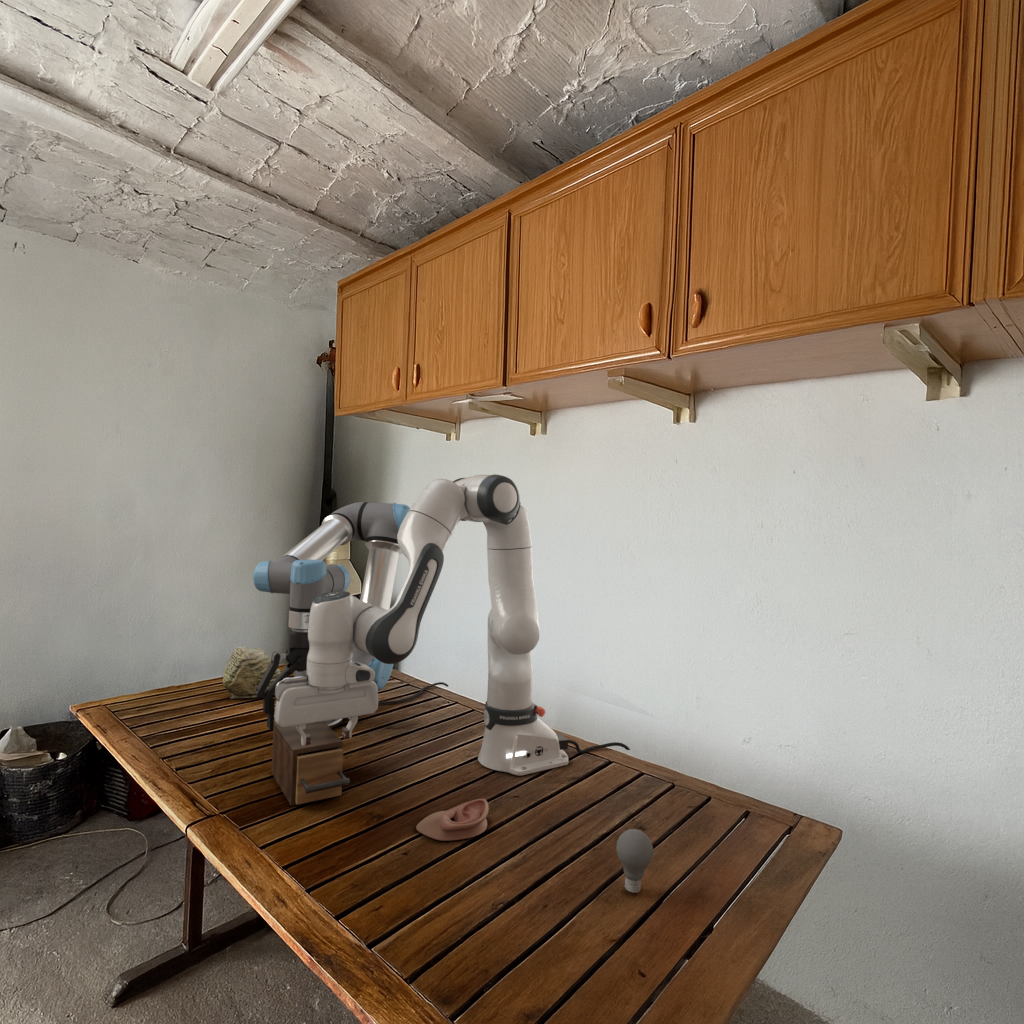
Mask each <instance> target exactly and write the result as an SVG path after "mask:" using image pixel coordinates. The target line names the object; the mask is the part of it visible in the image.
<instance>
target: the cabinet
mask: <svg viewBox="0 0 1024 1024" xmlns="http://www.w3.org/2000/svg"><path fill="white" fill-rule="evenodd" d="M303 731H304V733H305V734H309V735H310V736H311V740H310V742H311V744H310V745H306V746H302V744H301V735H300V733H299V731H298V730H297V728H296V726H289V727H280V726H279V725H278V724H277V723H276V722H274V728H273V729H272V753H271V775H272V776H273V778H274V779H275V782H276V783H277V785H278V787H279V788H280V789H281V792H282V793H283V795H284V797H285V798H286V800H287V802H288V803H289V805H290V807H294V806H297V804H296V776H297V756H298V754H302V753H308V752H313V751H319V750H324V749H330V748H334V750H336V749H341V748H342V750H343V751H344V749H343V746H344V740H342V739H341V738H340V736H338V734H336V732H335V731H334V730H333V729H331V728H330V727H329V726H328V725H327V724H326V723H325V722H324V721H322V722H315V723H309V724H306V729H303Z"/></svg>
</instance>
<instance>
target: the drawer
mask: <svg viewBox="0 0 1024 1024" xmlns="http://www.w3.org/2000/svg"><path fill="white" fill-rule="evenodd" d="M343 767H344V749H343V750H342V748H341V749H336V750H334V748H330V749H324V750H319V751H313V752H308V753H302V754H298V756H297V776H296V804H297V805H302V804H307V803H312V802H316V801H322V800H325V799H330V798H334V797H338V796H342V795H343V793H342V792H343V789H342V788H343V787H345V786H349V785H350V784H351V780H350V777H346V776H345V775H344V773H343V771H344V770H343V769H344V768H343ZM297 805H296V806H297Z"/></svg>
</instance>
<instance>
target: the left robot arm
mask: <svg viewBox="0 0 1024 1024" xmlns="http://www.w3.org/2000/svg"><path fill="white" fill-rule="evenodd" d="M410 508H411V506H409V505H408V504H404V503H396V502H393V503H391V502H367V501H360V502H354V503H350V504H347V505H344V506H342V507H340V508H338V509H336V510H335V511H333V512H332V513H330V514H329V515H327V516H326V517H324V519H323V520H322V522H321V525H320V526H319V527H318V528H317V529H315V530H314V531H313V532H311V533H309V535H307V536H306V537H304V539H303V540H301V541H300V542H299V543H298V544H296V545H295V546H294V547H292V548H291V549H289V550H288V551H287V552H286V553H285V554H283V555H282V556H281V557H279V558H278V559H277V560H276V561H272V560H267V561H265V560H264V561H260V562H259V563H257V565H256V566H255V568H254V570H253V575H252V580H253V585H254V587H255V589H256V590H258V591H259V592H263V593H270V594H282V595H283V594H284V595H289V609H288V624H287V625H288V627H287V628H289V630H288V631H287V647H286V648H287V649H286V651H285V652H277V650H276V651H273V652H272V653H271V657H270V658H271V662H270V664H269V666H268V668H267V670H266V672H265V674H264V675H263V677H262V679H261V681H260V683H259V685H258V686H257V688H256V690H255V694H256V696H257V697H256V698H258V699H260V698H261V699H262V711H263V713H264V714H265V715H267V718H266V726H267V728H268V730H269V731H273V728H274V723H275V722H274V721H275V719H274V714H275V706H276V701H275V700H276V698H275V697H274V696H275V695H274V694H275V687H276V685H277V684H278V683H279V682H280V681H282V680H283V679H284V678H287V677H291V675H293V677H297V676H304V675H306V670H307V655H308V652H309V640H308V625H309V616H310V610H311V606H312V603H313V601H314V599H315V598H316V597H318V596H319V595H321V594H324V593H327V592H332V591H346V592H347V590H348V589H349V587H350V584H351V581H352V579H351V574H350V572H349V570H348V568H347V567H346V566H344V565H341V564H337V563H336V564H334V563H330V564H326V562H325V561H324V560H325V559H326V558H328V556H330V555H331V554H332V553H333V552H334V551H335V550H336V549H337V548H339V547H340V546H345V545H347V544H348V543H349V542H355V541H359V542H361V541H362V542H365V544H364V546H365V547H366V548H367V550H368V555H367V556H368V557H367V561H366V567H365V572H364V577H363V582H362V586H361V587H362V589H361V593H360V598H359V600H361V601H363V602H366V603H368V604H371V605H375V606H378V607H381V608H384V609H386V610H389V609H390V608H391V602H392V597H393V591H394V587H395V580H396V574H397V568H398V562H399V558H400V555H402V554H403V553H402V551H401V550H400V547H399V545H398V541H397V534H398V531H399V528H400V525H401V523H402V521H403V519H404V518H405V516H406V514H407V513H408V511H409V509H410ZM284 660H286V661H287V663H286V665H285V666H284V667H283V669H282V670H281V671H280V672H281V673H280V674H279V675H278V676H277V678H276V679H275V680H274V681H273V682H272V684H271V685H270V686H269V687H268V685H269V683H270V681H271V679H272V677H273V675H274V674H275V672H276V670H277V668H278V669H279V665H280V664H282V662H283V661H284ZM352 661H354V662H358V663H363V664H365V665H367V666H369V667H370V668H371V669H373V670H374V672H375V678H374V680H373V681H374V682H375V683H376V685H377V689H378V692H379V691H381V690H382V689H383V688H384V687H385V686H386V685H387V684H388V682H389V680H390V677H391V675H392V672H393V668H394V664H385V663H382V662H380V661H379V660H377V659H376V658H374V657H373V656H371V655H370V654H367V653H365V652H363V651H361V650H360V651H355V652H354V653H353V656H352ZM282 683H283V682H282ZM282 683H281V684H282ZM430 685H431V686H429V685H426V686H423V687H422V688H420V690H419V691H418V692H416V693H415V694H413V695H411V696H408V697H406V698H402V699H396V700H395V699H394V700H385V701H378V706H381V705H388V704H398V703H403V702H406V701H410V700H412V699H414V698H416V697H418V696H420V695H421V694H422V693H423V691H425V690H427V689H431V688H433V687H436V686H438V685H439V686H440V685H441V686H442V685H443V686H445V687H449V684H447V683H446V682H443V681H438V682H434V683H432V684H430ZM267 687H268V688H267ZM266 688H267V689H266ZM265 690H266V691H265ZM324 722H325V723H326V724H327V725H328V726H329V727H330V728H331V729H332V730H333V729H335V728H337V727H339V726H340V725H342V723H343V722H344V718H341V719H335V720H328V721H324Z"/></svg>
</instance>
